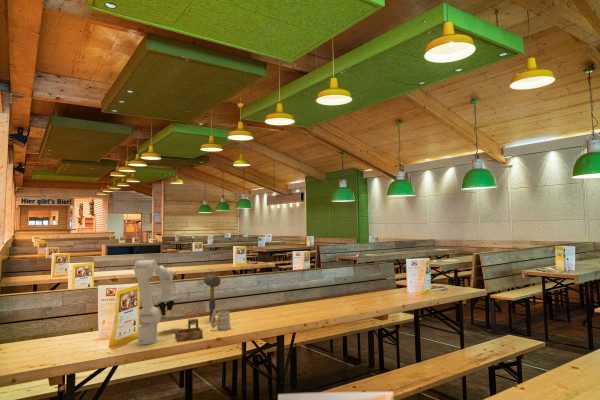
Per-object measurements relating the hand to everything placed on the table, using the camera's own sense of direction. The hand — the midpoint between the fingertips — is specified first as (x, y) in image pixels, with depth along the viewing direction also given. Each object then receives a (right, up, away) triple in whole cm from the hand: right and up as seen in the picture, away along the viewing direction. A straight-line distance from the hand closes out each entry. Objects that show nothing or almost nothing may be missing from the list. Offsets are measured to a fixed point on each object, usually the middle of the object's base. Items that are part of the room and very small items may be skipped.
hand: (166, 314), depth 223 cm
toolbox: (+16, -9, -10) cm, 21 cm away
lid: (+3, -2, +3) cm, 4 cm away
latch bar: (+15, -5, 0) cm, 16 cm away
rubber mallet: (+21, -12, +25) cm, 35 cm away
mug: (+31, -10, +5) cm, 33 cm away
